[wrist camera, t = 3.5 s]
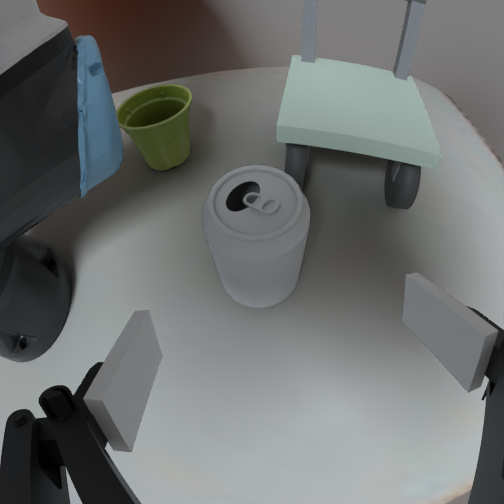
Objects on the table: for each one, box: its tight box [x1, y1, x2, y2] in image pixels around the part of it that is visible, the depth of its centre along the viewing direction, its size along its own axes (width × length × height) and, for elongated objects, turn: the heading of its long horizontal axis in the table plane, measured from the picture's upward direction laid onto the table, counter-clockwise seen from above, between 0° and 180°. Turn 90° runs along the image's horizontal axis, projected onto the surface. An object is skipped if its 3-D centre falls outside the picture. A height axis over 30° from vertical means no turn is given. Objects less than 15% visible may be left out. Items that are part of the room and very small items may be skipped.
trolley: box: [276, 0, 442, 209], centre depth 27 cm, size 16×18×23 cm
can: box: [202, 165, 311, 308], centre depth 25 cm, size 8×8×12 cm
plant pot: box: [116, 84, 192, 171], centre depth 35 cm, size 9×9×9 cm
